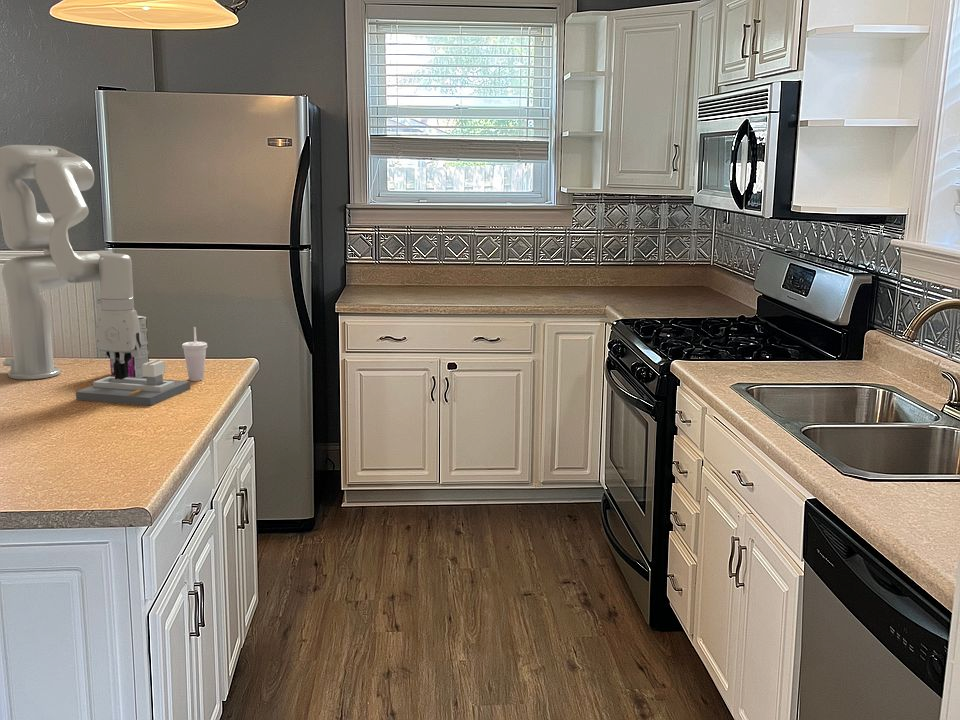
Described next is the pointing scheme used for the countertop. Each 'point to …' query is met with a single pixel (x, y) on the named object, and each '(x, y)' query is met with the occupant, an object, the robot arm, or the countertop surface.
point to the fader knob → (154, 372)
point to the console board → (131, 391)
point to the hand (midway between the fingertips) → (121, 378)
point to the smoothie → (195, 358)
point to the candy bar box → (136, 362)
